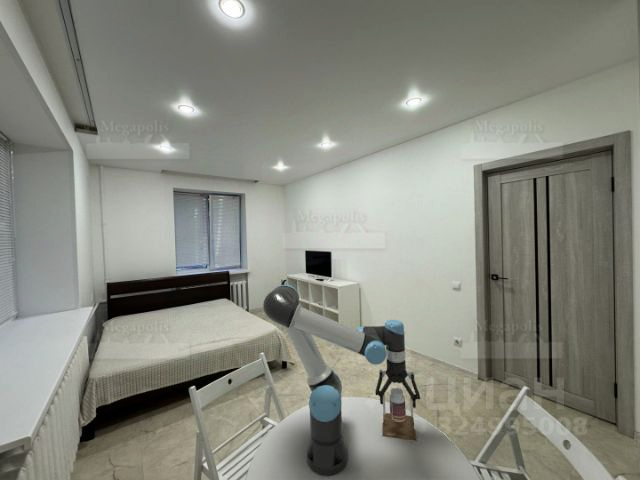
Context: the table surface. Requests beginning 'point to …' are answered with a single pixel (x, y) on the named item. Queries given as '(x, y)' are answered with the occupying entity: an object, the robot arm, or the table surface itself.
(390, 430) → the brown wooden block
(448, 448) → the table surface
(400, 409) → the pill bottle
